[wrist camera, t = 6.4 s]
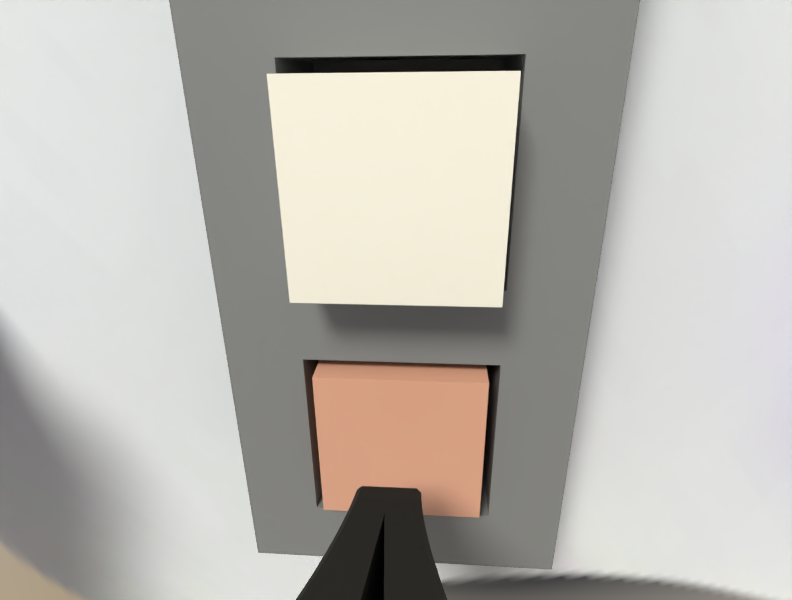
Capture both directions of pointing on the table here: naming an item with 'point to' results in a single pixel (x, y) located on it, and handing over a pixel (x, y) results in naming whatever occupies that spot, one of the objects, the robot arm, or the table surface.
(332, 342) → the key panel
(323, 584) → the robot arm
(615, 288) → the table surface
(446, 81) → the ivory key
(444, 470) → the terracotta key
